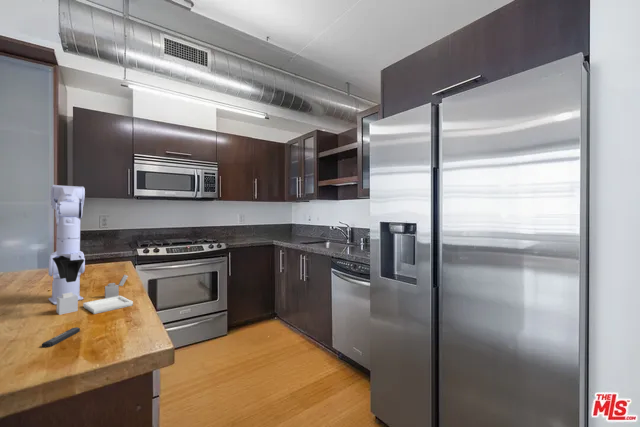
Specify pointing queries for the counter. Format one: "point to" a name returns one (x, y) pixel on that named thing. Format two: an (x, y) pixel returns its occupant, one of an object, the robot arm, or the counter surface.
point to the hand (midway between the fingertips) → (67, 279)
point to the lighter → (114, 288)
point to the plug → (67, 303)
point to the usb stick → (61, 337)
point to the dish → (107, 304)
